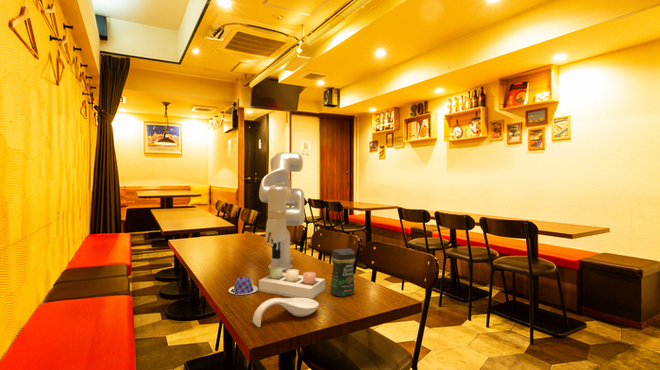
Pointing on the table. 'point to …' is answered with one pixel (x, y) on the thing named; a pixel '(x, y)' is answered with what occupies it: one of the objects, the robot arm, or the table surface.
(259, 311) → the spoon rest
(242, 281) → the pudding
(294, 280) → the cream button
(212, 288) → the table surface
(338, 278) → the coffee jar
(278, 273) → the sage button
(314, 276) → the pink round cup
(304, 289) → the white compartment tray
